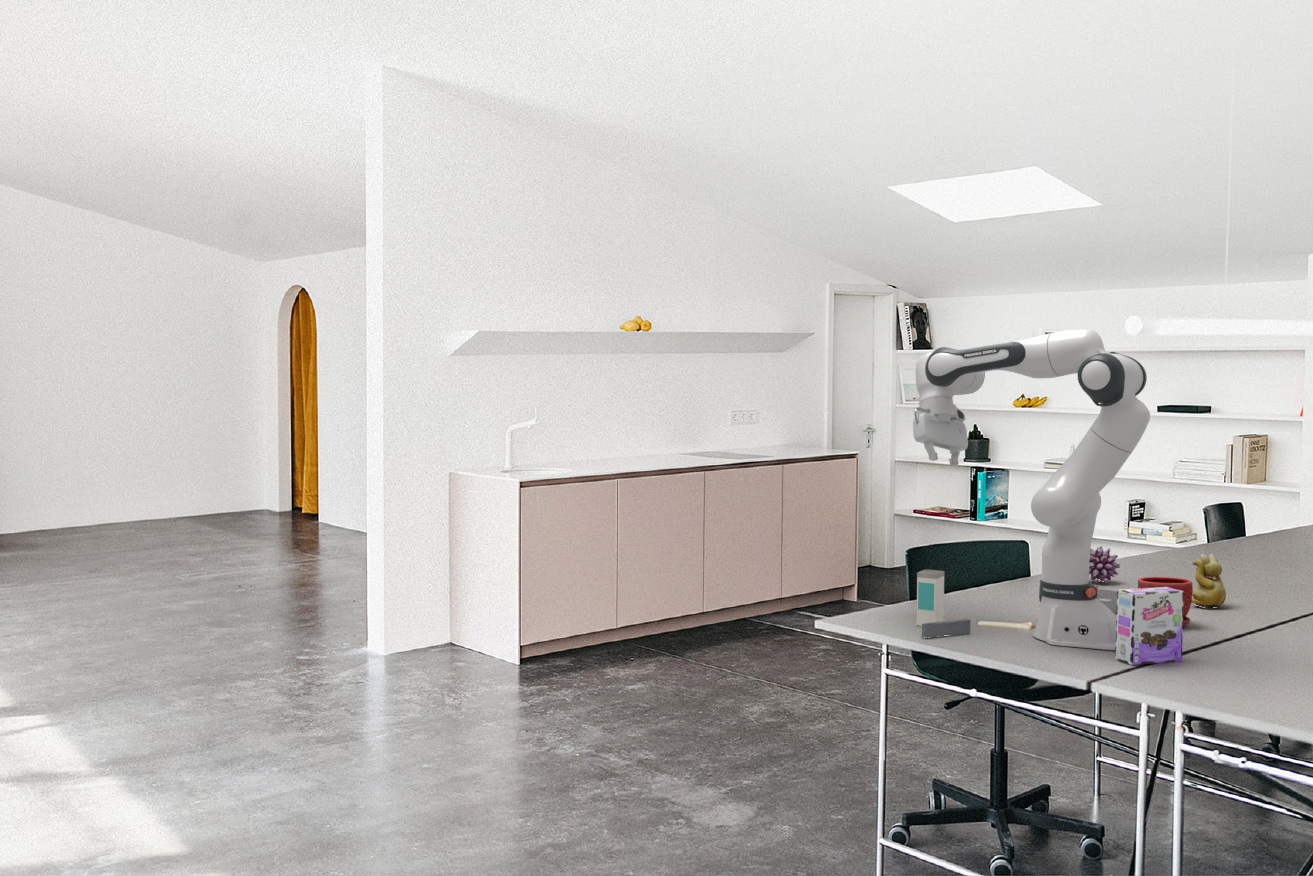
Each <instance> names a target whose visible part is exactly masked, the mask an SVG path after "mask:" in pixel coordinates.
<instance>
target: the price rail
mask: <svg viewBox="0 0 1313 876" xmlns="http://www.w3.org/2000/svg"><path fill="white" fill-rule="evenodd" d="M969 633H970V634H971V619H970V618H969V619H968V618H963V619H955V620H954V619H952V620H945V621H943V622H934V623H925V624H922V627H921V637H922V636H923V637H925V638H926V637H927V638H928V637H937V636H944V635H956V636H962V635H961V634H964V635H970V634H969Z"/></svg>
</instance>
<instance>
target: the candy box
mask: <svg viewBox="0 0 1313 876" xmlns="http://www.w3.org/2000/svg"><path fill="white" fill-rule="evenodd" d="M1116 590H1117V591H1116V594H1117V595H1116V615H1117V617H1116V647H1115V650H1114V652H1115V653H1114V659H1115V660H1117V661H1119V662H1123V663H1125V664H1128V665H1130V666H1134V665H1136V666H1138V665H1149V664H1164V663H1177V662H1179V663H1180V662H1183V635H1184V634H1183V633H1184V632H1183V631H1184V629H1183V628H1184V626H1183V593H1184V592H1183V591H1181V590H1177V589H1173V588H1169V587H1157V588H1139V589H1138V588H1117V589H1116Z"/></svg>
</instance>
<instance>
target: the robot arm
mask: <svg viewBox="0 0 1313 876" xmlns="http://www.w3.org/2000/svg"><path fill="white" fill-rule="evenodd" d="M991 371H1007V372H1011V373H1013V374H1019V375H1023V376H1025V377H1028V378H1032V379H1052V378H1059V377H1064V376H1069V375H1075V374H1077V381H1078V383H1079V386H1080V387H1081V389H1082V390H1083V392H1084V393H1085V394H1086V395H1087V396H1088V397H1089V399H1091V400H1092V402H1093V403H1094V405H1095V406H1097V407H1100V412H1099V414H1098V416H1097V417H1096V419H1095V420H1094V421H1093V423H1092V424H1091V426H1090V427H1089V429H1088V430H1087V432H1086V433H1085V435H1084V437H1082V439H1081V441H1080V442H1079V443H1078V445H1077V446H1076V447H1075V449H1074V450H1073V451H1072V453H1071V454H1070V456H1069V457H1068V458H1067V459H1066V460H1065V461H1064V462H1063V463H1062V464H1061V465H1060V466H1059V467H1058V469H1057V470H1056V471H1055V472H1054V473H1053V474H1052V475H1051V477H1050V478H1049V479H1047V481H1046V483H1044V485H1043V486H1041V487H1040V489H1039V490H1037V492H1035V493H1034V495H1033V496H1032V499H1031V502H1030V509H1031V513H1032V515H1033V517H1034V519H1035V520H1036V521H1037V522H1038V523H1039V524H1041V525H1042V526H1046V527H1049V528H1048V532H1047V536H1046V539H1045V542H1044V544H1043V546H1042V549H1041V579H1040V580H1039V586H1038V599H1039V603H1040V604H1039V611H1038V612H1039V613H1038V618H1037V621H1036V627H1035V630H1034V633H1033V637H1034V638H1035V639H1038V640H1041V641H1043V642H1045V643H1047V644H1049V645H1052V646H1060V647H1061V646H1062V647H1072V648H1073V647H1075V648H1086V649H1093V650H1094V649H1095V650H1106V651H1107V650H1108V651H1115V647H1116V617H1117V613H1115V612H1113V611H1112V610H1111V609H1110V608H1108V606H1106V605H1105V604H1104V603H1102V602H1101V601H1100V600H1099V599H1097V598H1098V591H1099V586H1098V585H1096V586H1095V585H1094V584H1093V583H1091V581H1090V574H1089V561H1090V548H1092V547H1091V546H1092V542H1093V536H1094V532H1095V528H1096V527H1095V526H1096V523H1097V522H1096V521H1097V517H1098V512H1099V510H1100V509H1101V506H1102V498H1101V497H1102V496H1101V494H1100V492H1101V491H1102V490H1103V489H1104V488H1105V487H1106V486H1107V485H1108V484H1109V483H1110V482H1111V481H1112V480H1114V479H1115V477H1116V476H1117V474H1118V473H1119V472H1120V470H1121V468H1123V466H1124V464H1125V463H1126V461H1127V460H1128V459H1129V457H1130V456H1131V455H1132V453H1133V452H1134V451H1135V449H1136V447H1137V446H1138V444H1139V442H1140V441H1141V439H1142V437H1143V435H1144V434H1145V431H1146V429H1147V427H1148V425H1149V422H1150V420H1151V412H1150V410H1149V408H1148V406H1146V404H1145V403H1144V402H1143V401H1142V400H1140V399H1138V397H1137V396H1138V395H1140V394H1141V393H1142V391H1144V389H1145V387H1146V385H1147V372H1146V369H1145V367H1144V366H1143V365H1142V363H1140V362H1139V361H1138V360H1137V359H1134V358H1133V357H1131V356H1128V355H1125V354H1121V353H1118V352H1115V351H1110V352H1108V351H1107V350H1105V346H1104V341H1103V340H1102V338H1101V336H1100V335H1099V333H1098V332H1097V331H1095V330H1093V329H1090V328H1073V329H1072V328H1071V329H1063V330H1059V331H1054V332H1050V333H1045V334H1040V335H1037V336H1033V337H1028V338H1024V339H1019V340H1014V341H1010V342H1003V343H997V344H991V345H989V344H988V345H984V346H977V347H971V348H966V349H955V348H952V347H947V346H943V347H939V348H936V349H935V350H934V351H931V352H927V353H925V354H923V355H922V356H920V357H919V358H918V359H917V362H916V364H915V383H916V390H917V392H918V394H919V400H918V406H917V407H916V408H915V409H914V411H913V414H914V415H913V418H912V431H913V433H912V436H913V438H914V440H915V442H917V443H921V444H923V445H924V449H925V451H926V453H927V454H928V455H927V456H928V460H930V461H932V462H933V461H938V459H939V457H938V452H936V450H935V448H936V447H937V448H939V449H944V450H947V451H949V454H951V457H950V458H948V460H949V461H948V462H949V465H950V466H953V467H955V466H958V465H959V456H960V454H961V453H960V452H963V451H966V450H967V449H968V446H969V440H968V439H969V438H968V431H967V426H966V424H965V423H964V421H966V414H965V413H964V412H963V411H962V410H960V409H959V408H958V407H957V406H956V404H954V399H953V398H954V396H961V395H962V396H963V395H969V394H970V395H971V394H974V393H975V392H977V391H978V390H979V389H981V387H982V386H983V384H984V382H985V379H986V378H985V376H986V373H985V372H991Z"/></svg>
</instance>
